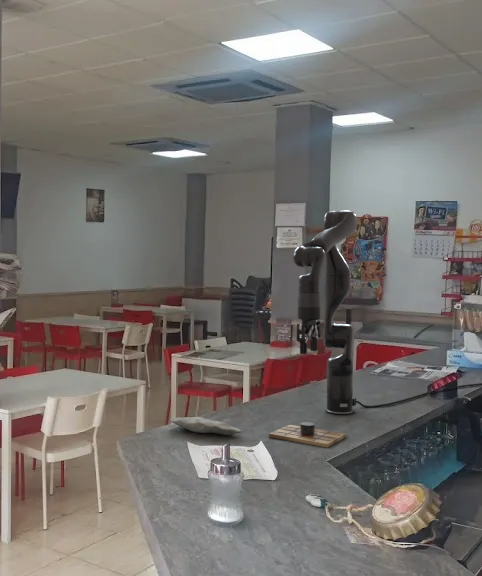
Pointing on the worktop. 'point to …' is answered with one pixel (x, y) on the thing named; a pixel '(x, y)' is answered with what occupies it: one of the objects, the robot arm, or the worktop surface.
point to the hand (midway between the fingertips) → (308, 352)
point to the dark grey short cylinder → (307, 428)
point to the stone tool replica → (205, 425)
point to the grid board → (308, 436)
